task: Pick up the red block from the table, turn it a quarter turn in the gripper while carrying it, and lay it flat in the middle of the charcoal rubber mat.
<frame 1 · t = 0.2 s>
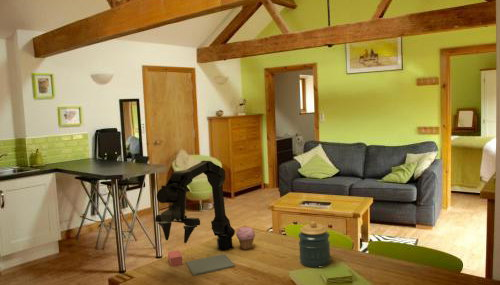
hand: (175, 241, 165), 15 cm above the table, fingers open, 9 cm apart
canister: (315, 262, 174), on the table
mat: (210, 265, 177), on the table
cupcake: (246, 248, 195), on the table
red block: (175, 262, 183), on the table
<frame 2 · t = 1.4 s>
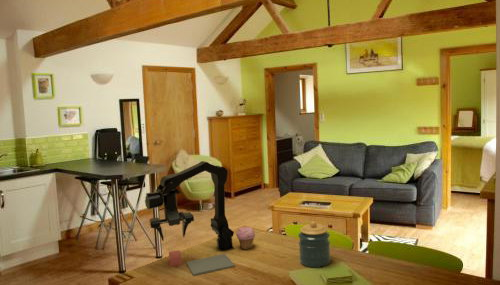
hand: (173, 238, 181), 11 cm above the table, fingers open, 9 cm apart
nothing on the table moved.
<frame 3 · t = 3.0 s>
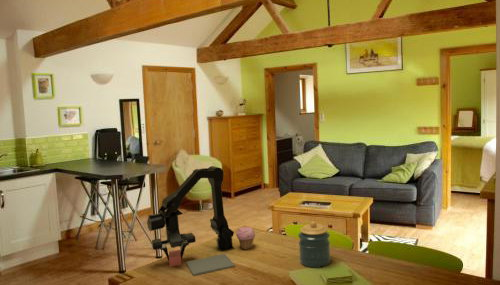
hand: (175, 259, 183), 1 cm above the table, fingers closed on red block, 5 cm apart
red block: (175, 262, 183), on the table, touching gripper
everything else where it was.
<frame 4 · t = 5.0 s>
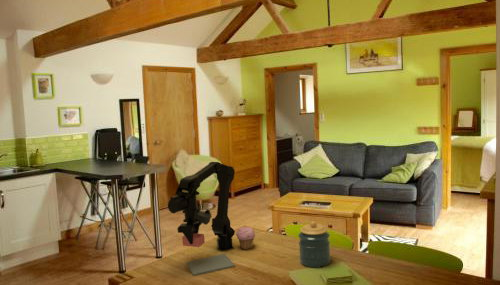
hand: (193, 241, 178), 10 cm above the table, fingers closed on red block, 5 cm apart
red block: (193, 244, 179), point 9 cm above the table, touching gripper
everything else where it was.
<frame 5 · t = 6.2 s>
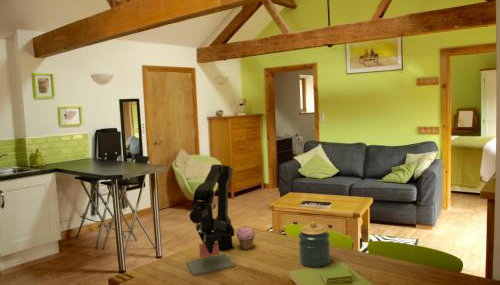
hand: (209, 251, 177), 6 cm above the table, fingers closed on red block, 5 cm apart
red block: (209, 253, 177), point 5 cm above the table, touching gripper
everything else where it was.
when the fingers open (3 cm above the table, at t = 7.2 s): red block stays where it is, resting on mat.
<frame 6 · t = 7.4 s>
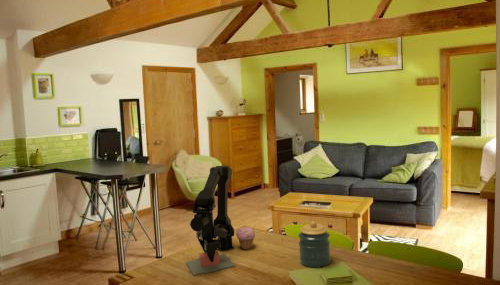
hand: (209, 258, 177), 3 cm above the table, fingers open, 7 cm apart
red block: (210, 263, 177), point 1 cm above the table, touching mat
everything else where it was.
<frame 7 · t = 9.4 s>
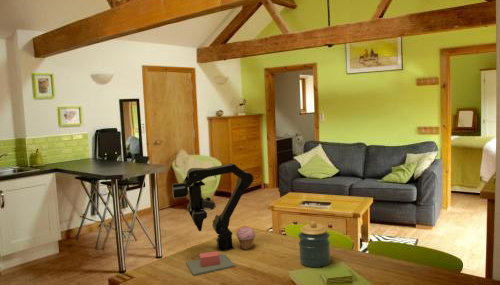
hand: (198, 228, 191), 12 cm above the table, fingers open, 9 cm apart
nothing on the table moved.
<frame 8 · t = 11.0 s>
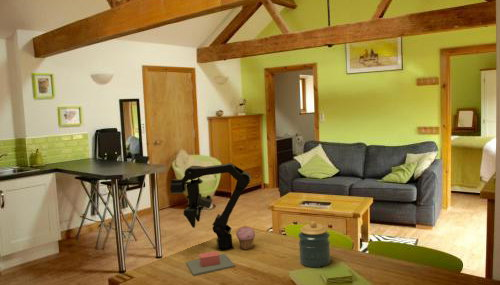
hand: (196, 224, 196), 12 cm above the table, fingers open, 9 cm apart
nothing on the table moved.
at the end: red block inside the target area on the mat (0.0 cm from its centre), point 0.8 cm above the mat's base; red block tilted 0°; the gripper is holding nothing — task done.
